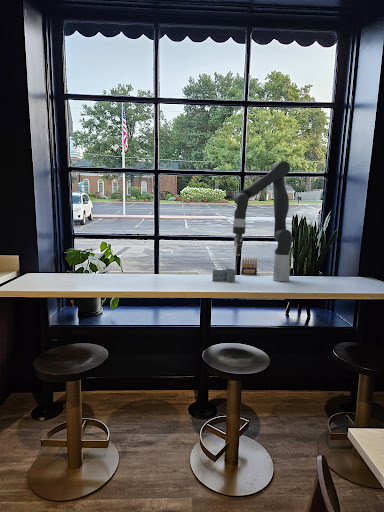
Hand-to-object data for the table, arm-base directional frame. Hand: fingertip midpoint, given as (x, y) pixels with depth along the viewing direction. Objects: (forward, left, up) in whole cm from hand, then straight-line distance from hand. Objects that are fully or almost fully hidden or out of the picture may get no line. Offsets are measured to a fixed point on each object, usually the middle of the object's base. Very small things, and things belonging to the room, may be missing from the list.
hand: (237, 253), depth 217 cm
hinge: (+8, -6, -18) cm, 20 cm away
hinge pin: (0, 0, -1) cm, 1 cm away
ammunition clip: (-14, -21, -18) cm, 31 cm away
